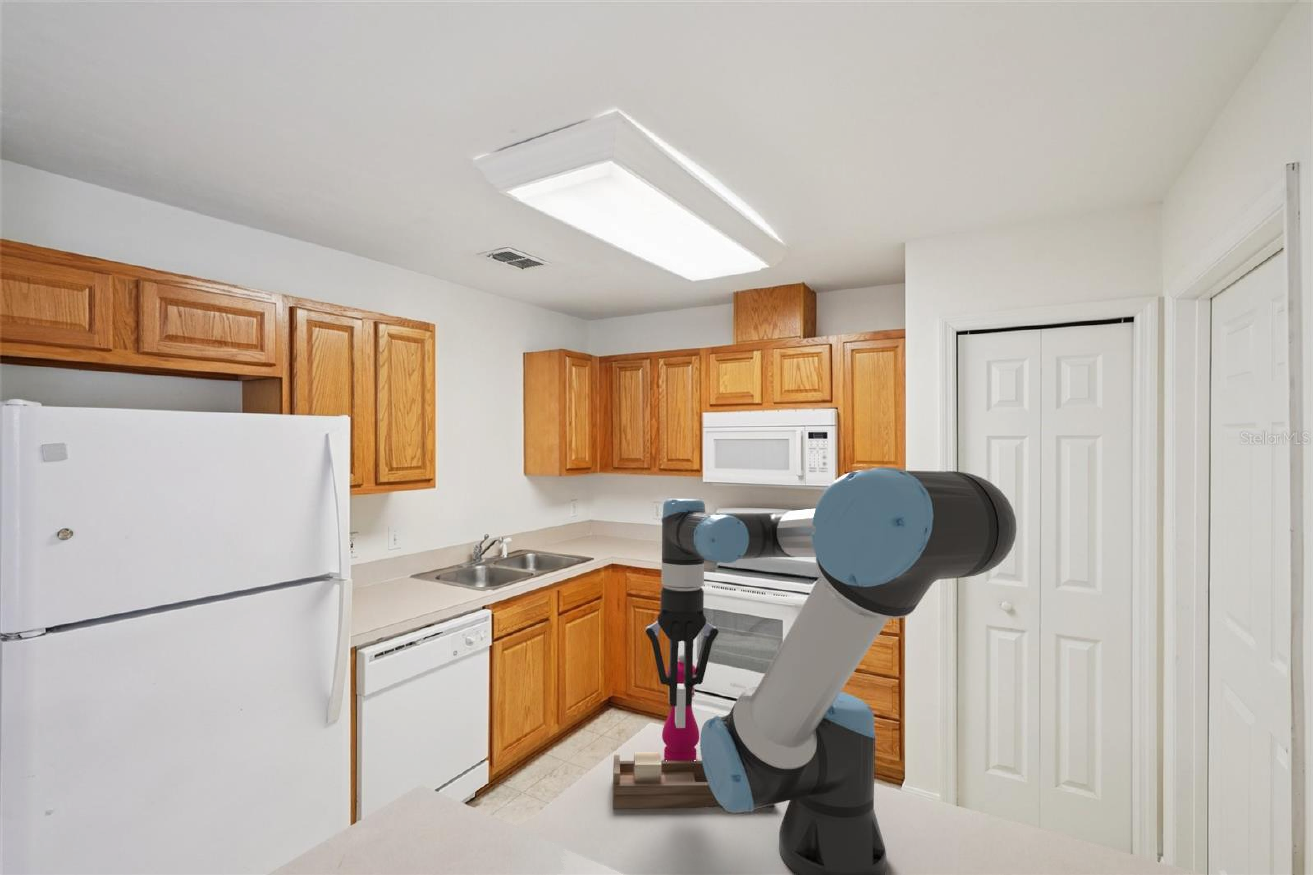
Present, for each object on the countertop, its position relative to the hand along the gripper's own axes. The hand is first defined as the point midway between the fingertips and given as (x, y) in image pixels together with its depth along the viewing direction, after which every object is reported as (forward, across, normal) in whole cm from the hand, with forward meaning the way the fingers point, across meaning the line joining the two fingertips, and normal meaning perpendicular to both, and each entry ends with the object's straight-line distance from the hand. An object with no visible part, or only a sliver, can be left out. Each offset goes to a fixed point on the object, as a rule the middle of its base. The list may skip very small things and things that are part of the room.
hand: (679, 724), depth 106 cm
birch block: (+10, +6, 0) cm, 11 cm away
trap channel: (+12, -2, -1) cm, 12 cm away
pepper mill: (+12, -2, -13) cm, 18 cm away
